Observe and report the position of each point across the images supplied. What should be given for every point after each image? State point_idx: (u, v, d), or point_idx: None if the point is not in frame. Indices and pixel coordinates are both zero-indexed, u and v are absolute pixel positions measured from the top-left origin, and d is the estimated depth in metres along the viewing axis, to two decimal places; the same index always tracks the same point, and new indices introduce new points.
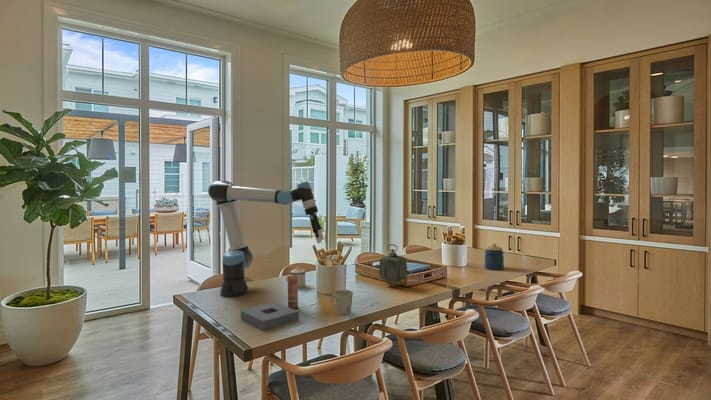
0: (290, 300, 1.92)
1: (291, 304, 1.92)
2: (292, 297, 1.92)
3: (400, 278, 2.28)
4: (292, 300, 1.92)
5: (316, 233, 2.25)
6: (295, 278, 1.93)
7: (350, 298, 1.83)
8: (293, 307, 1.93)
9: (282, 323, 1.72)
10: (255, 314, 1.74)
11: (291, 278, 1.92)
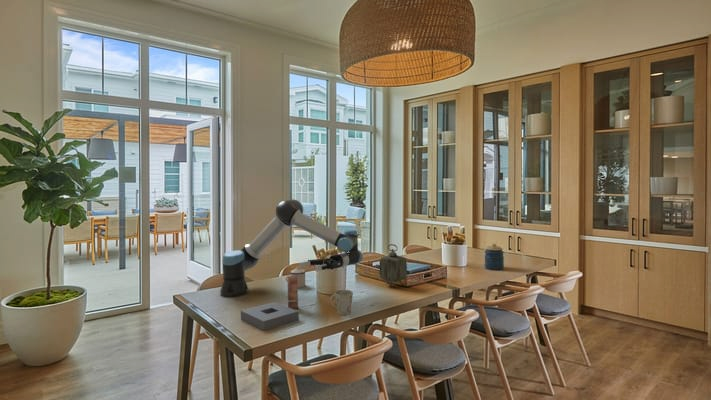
0: (290, 300, 1.92)
1: (291, 304, 1.92)
2: (292, 297, 1.92)
3: (400, 278, 2.28)
4: (292, 300, 1.92)
5: None
6: (295, 278, 1.93)
7: (350, 298, 1.83)
8: (293, 307, 1.93)
9: (282, 323, 1.72)
10: (255, 314, 1.74)
11: (291, 278, 1.92)
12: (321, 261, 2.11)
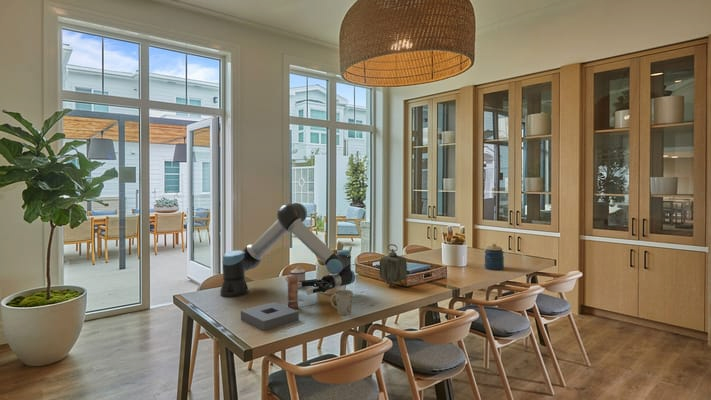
0: (290, 300, 1.92)
1: (291, 304, 1.92)
2: (292, 297, 1.92)
3: (400, 278, 2.28)
4: (292, 300, 1.92)
5: (318, 290, 1.95)
6: (295, 278, 1.93)
7: (350, 298, 1.83)
8: (293, 307, 1.93)
9: (282, 323, 1.72)
10: (255, 314, 1.74)
11: (291, 278, 1.92)
12: (313, 282, 2.07)
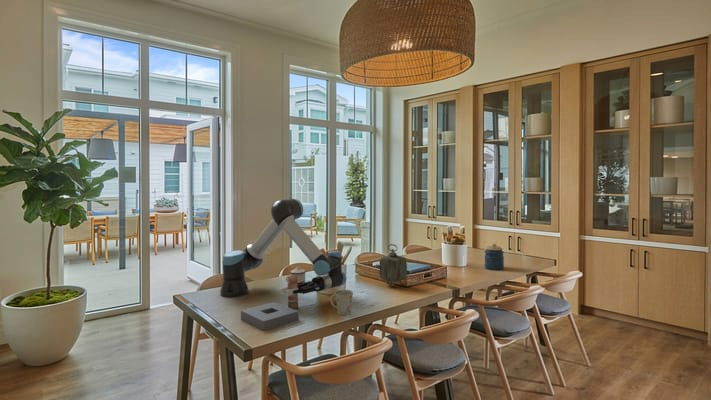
0: (290, 300, 1.92)
1: (291, 304, 1.92)
2: (292, 297, 1.92)
3: (400, 278, 2.28)
4: (292, 300, 1.92)
5: (298, 291, 1.92)
6: (295, 278, 1.93)
7: (350, 298, 1.83)
8: (293, 307, 1.93)
9: (282, 323, 1.72)
10: (255, 314, 1.74)
11: (291, 278, 1.92)
12: (303, 285, 2.01)
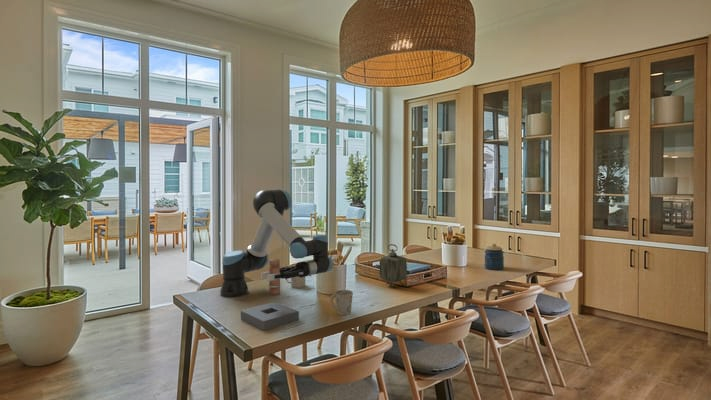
0: (271, 286, 1.78)
1: (273, 290, 1.78)
2: (274, 283, 1.78)
3: (400, 278, 2.28)
4: (274, 286, 1.78)
5: (280, 276, 1.78)
6: (277, 262, 1.79)
7: (350, 298, 1.83)
8: (275, 293, 1.78)
9: (282, 323, 1.72)
10: (255, 314, 1.74)
11: (272, 262, 1.78)
12: (286, 270, 1.87)
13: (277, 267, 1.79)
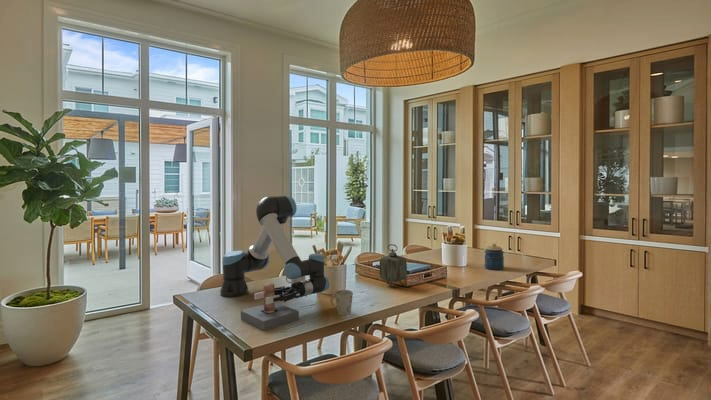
0: (266, 311, 1.76)
1: None
2: (269, 308, 1.76)
3: (400, 278, 2.28)
4: (268, 311, 1.76)
5: None
6: (272, 287, 1.77)
7: (350, 298, 1.83)
8: None
9: (282, 323, 1.72)
10: (255, 314, 1.74)
11: (267, 287, 1.76)
12: (281, 290, 1.86)
13: (272, 292, 1.77)
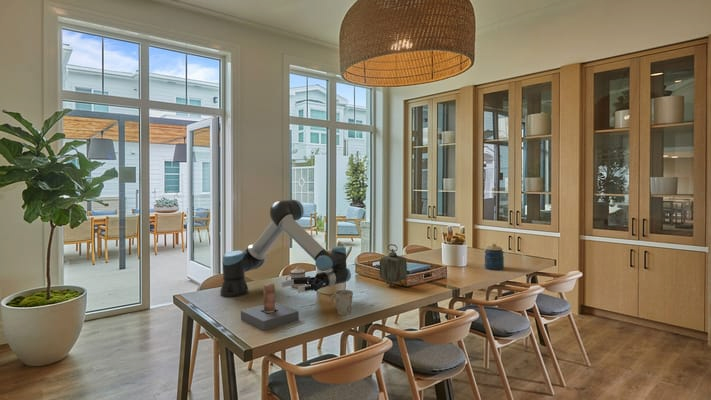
0: (266, 311, 1.76)
1: None
2: (269, 308, 1.76)
3: (400, 278, 2.28)
4: (268, 311, 1.76)
5: (310, 288, 1.85)
6: (272, 287, 1.77)
7: (350, 298, 1.83)
8: None
9: (282, 323, 1.72)
10: (255, 314, 1.74)
11: (267, 287, 1.76)
12: (305, 280, 1.97)
13: (272, 292, 1.77)
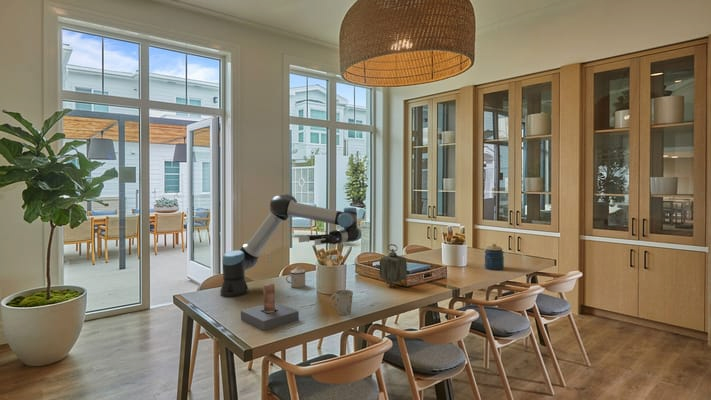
0: (266, 311, 1.76)
1: None
2: (269, 308, 1.76)
3: (400, 278, 2.28)
4: (268, 311, 1.76)
5: None
6: (272, 287, 1.77)
7: (350, 298, 1.83)
8: None
9: (282, 323, 1.72)
10: (255, 314, 1.74)
11: (267, 287, 1.76)
12: (320, 236, 2.13)
13: (272, 292, 1.77)
